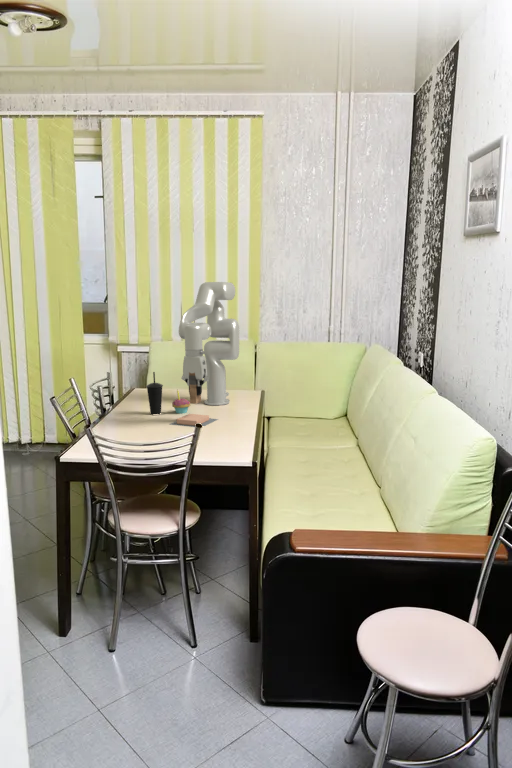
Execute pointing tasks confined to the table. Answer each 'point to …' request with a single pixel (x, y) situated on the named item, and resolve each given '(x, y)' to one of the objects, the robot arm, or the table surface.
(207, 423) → the mat
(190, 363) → the robot arm
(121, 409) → the table surface
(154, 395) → the drinking cup
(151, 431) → the table surface
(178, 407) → the cupcake
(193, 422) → the tile
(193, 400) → the banded brown box
